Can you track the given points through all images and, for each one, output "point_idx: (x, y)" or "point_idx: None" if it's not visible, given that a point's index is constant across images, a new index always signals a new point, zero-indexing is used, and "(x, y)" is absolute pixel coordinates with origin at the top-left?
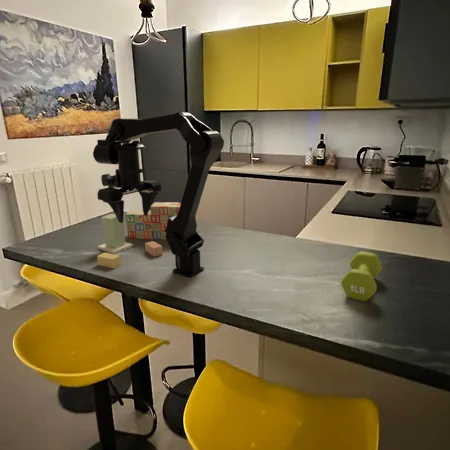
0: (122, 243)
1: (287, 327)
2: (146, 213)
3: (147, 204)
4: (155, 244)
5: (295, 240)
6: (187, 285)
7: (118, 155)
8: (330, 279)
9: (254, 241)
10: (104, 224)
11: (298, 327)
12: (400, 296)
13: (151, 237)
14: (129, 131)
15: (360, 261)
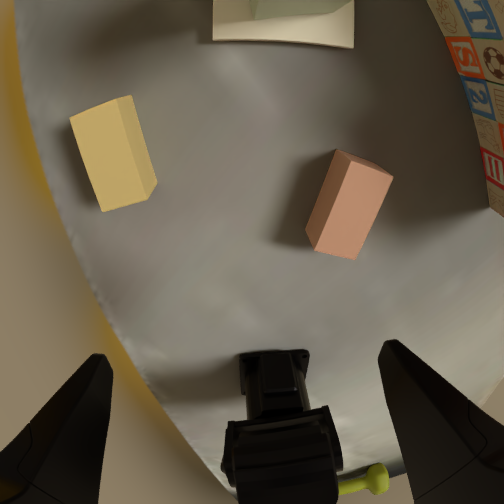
0: (308, 12)
1: (216, 476)
2: (382, 379)
3: (410, 454)
4: (359, 220)
5: (493, 380)
6: (210, 402)
7: None
8: (354, 461)
9: (490, 347)
10: None
11: (224, 479)
12: None
13: (462, 70)
14: None
15: (371, 487)
